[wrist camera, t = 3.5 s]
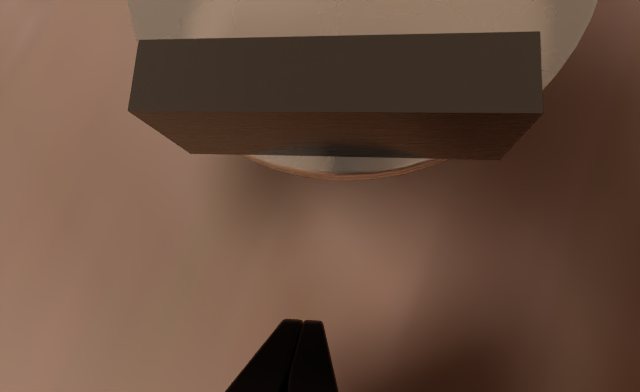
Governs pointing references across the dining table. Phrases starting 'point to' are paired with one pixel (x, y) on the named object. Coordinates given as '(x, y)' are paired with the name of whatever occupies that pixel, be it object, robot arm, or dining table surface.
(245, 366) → the robot arm
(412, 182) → the dining table surface
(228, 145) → the cooker lid
